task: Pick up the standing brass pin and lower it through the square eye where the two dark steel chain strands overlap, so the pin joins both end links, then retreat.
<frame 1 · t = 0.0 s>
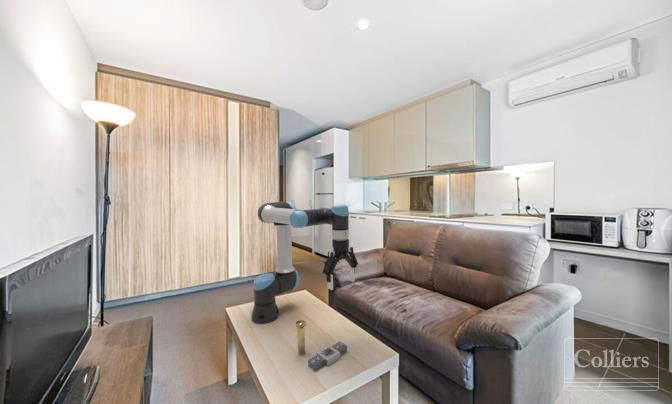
hand: (341, 284, 116), 28 cm above the table, fingers open, 13 cm apart
chain joint: (328, 358, 108), on the table
pin: (301, 352, 112), on the table
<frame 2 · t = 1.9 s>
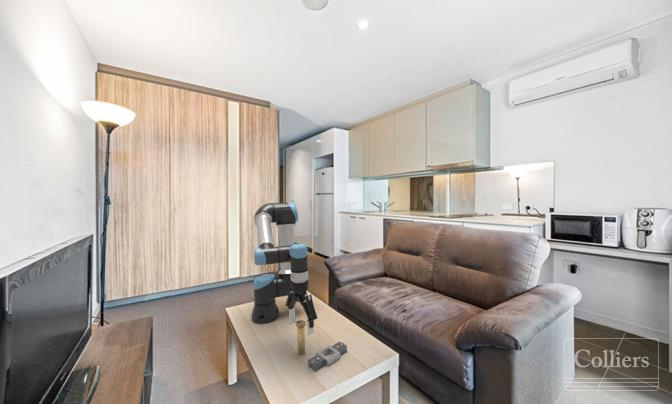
hand: (301, 328, 111), 11 cm above the table, fingers open, 13 cm apart
nothing on the table moved.
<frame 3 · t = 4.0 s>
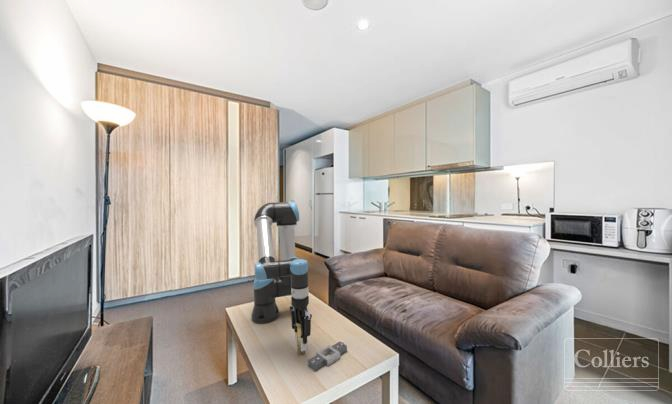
hand: (301, 347, 112), 2 cm above the table, fingers closed on pin, 3 cm apart
pin: (301, 352, 112), on the table, touching gripper
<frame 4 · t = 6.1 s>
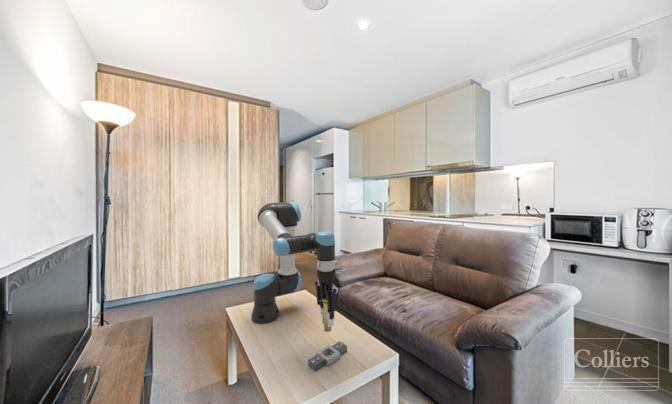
hand: (327, 324, 107), 15 cm above the table, fingers closed on pin, 3 cm apart
pin: (327, 329, 107), point 12 cm above the table, touching gripper
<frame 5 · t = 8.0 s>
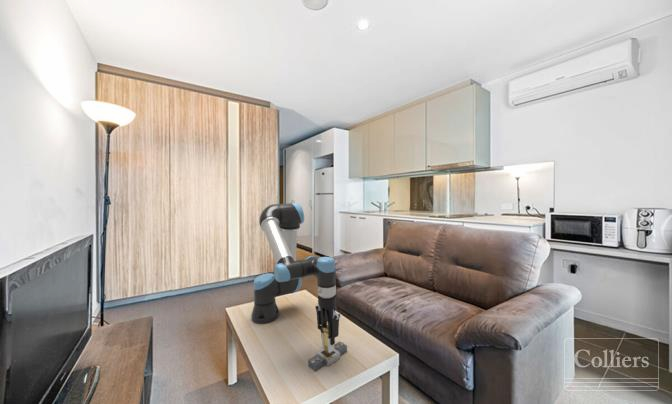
hand: (328, 349, 108), 4 cm above the table, fingers closed on pin, 3 cm apart
pin: (328, 358, 108), resting in chain joint, touching gripper
when the fingers open (4 cm above the table, at t = 8.6 s): pin stays where it is, resting in chain joint.
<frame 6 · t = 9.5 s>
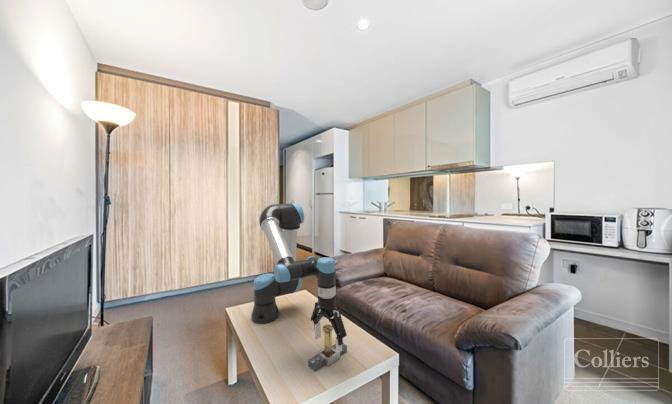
hand: (328, 344, 108), 6 cm above the table, fingers open, 13 cm apart
pin: (328, 358, 108), resting in chain joint
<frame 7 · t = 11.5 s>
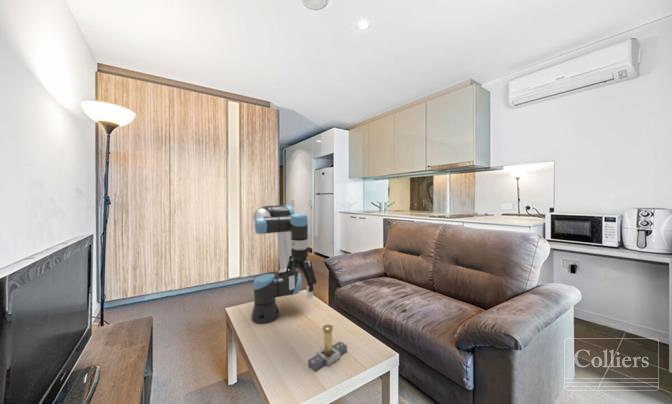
hand: (300, 293, 117), 24 cm above the table, fingers open, 13 cm apart
nothing on the table moved.
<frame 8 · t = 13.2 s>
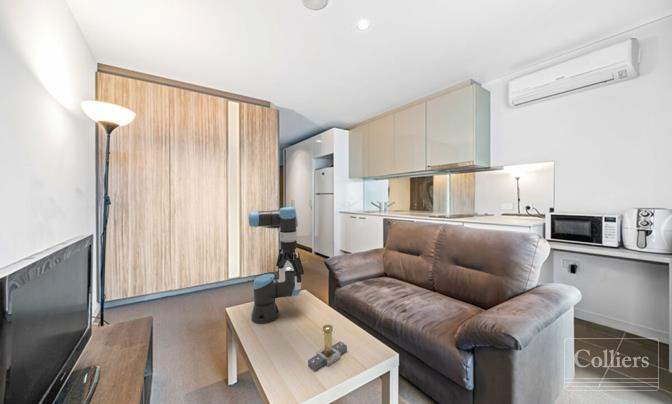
hand: (289, 285, 120), 27 cm above the table, fingers open, 13 cm apart
nothing on the table moved.
at the end: pin 0.2 cm off-centre on the chain joint, point 0.0 cm above the chain joint's base; pin tilted 0°; the gripper is holding nothing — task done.
